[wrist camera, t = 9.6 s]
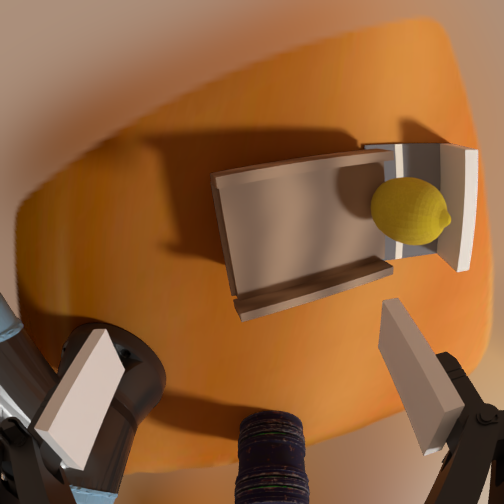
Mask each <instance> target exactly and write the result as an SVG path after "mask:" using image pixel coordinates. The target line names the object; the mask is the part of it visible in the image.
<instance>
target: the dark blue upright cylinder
mask: <svg viewBox="0 0 504 504" xmlns="http://www.w3.org/2000/svg"><path fill="white" fill-rule="evenodd" d="M304 457H305V439H304V435H303V426H302V422H301V420H300V419H299V418H298V417H296V416H295V415H293V414H290V413H287V412H283V411H263V412H258V413H255V414H252V415H250V416H248V417H246V418H245V419H244V420H243V421H242V423H241V424H240V435H239V439H238V458H239V472H238V476H237V478H236V482H235V485H236V487H235V495H234V496H235V504H309V494H310V493H309V486H308V482H309V480H308V477H307V474H306V473H305V465H304Z"/></svg>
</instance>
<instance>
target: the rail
mask: <svg viewBox="0 0 504 504" xmlns="http://www.w3.org/2000/svg"><path fill="white" fill-rule="evenodd" d="M440 164H441V184H440V193H441V194H442V196H443V197H444V200H445V202H446V205H447V211H448V213H449V214H450V216H451V223H450V224H449V225H448V226H447V227H445V228H444V229H443V231H442V233H441V234H440V235H439V236H438V244H437V254H438V255H439V256H440V257H441V258H442V259H444V260H445V261H446V262H447V263H448V264H449V265H450V266H451V267H452V268H453V269H454V270H455V271H456V272H461V271H466V270H469V266H470V260H471V253H472V245H473V237H474V228H475V218H476V205H477V187H478V150H476V149H472V148H468V147H464V146H460V145H456V144H451V143H447V144H446V143H444V144H440Z"/></svg>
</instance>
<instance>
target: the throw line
mask: <svg viewBox="0 0 504 504" xmlns="http://www.w3.org/2000/svg"><path fill="white" fill-rule="evenodd" d="M395 160H396V178H401V177H403V151H402V144H395ZM402 248H403V243H400V242H397V241H396V253H395V259H400V258H402Z"/></svg>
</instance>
